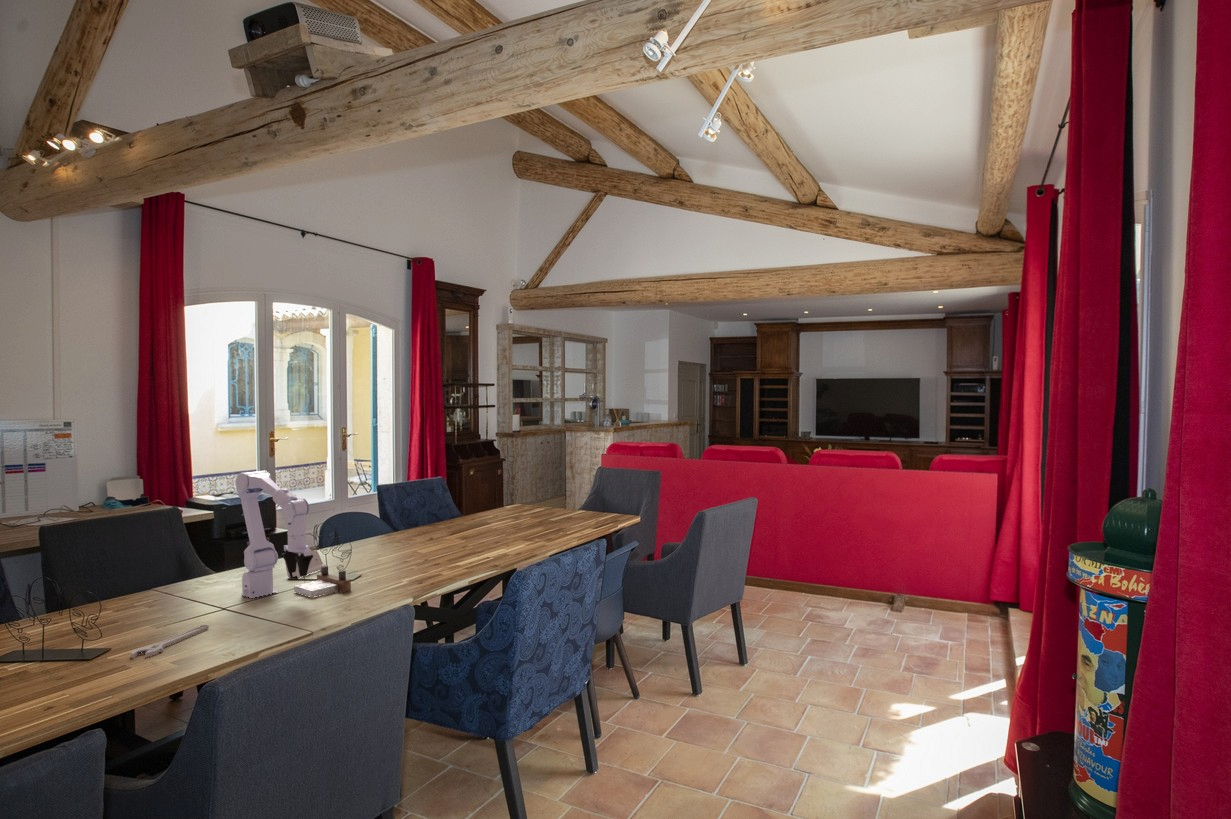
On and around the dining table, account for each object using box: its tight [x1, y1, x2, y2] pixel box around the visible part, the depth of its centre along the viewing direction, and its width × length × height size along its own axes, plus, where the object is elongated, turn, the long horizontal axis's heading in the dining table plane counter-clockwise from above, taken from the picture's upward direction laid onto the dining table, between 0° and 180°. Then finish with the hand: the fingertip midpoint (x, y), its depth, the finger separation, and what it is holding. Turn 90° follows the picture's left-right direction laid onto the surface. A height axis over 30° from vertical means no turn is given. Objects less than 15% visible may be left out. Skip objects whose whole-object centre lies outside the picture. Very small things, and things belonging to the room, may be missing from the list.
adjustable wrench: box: [130, 624, 209, 659], centre depth 203 cm, size 25×6×2 cm, turn 164°
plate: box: [293, 580, 339, 597], centre depth 254 cm, size 10×12×3 cm
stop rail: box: [316, 565, 352, 593], centre depth 259 cm, size 3×18×7 cm, turn 52°
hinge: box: [284, 549, 327, 579], centre depth 282 cm, size 17×5×10 cm, turn 163°
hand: (297, 574), depth 242 cm, fingers open, 7 cm apart
